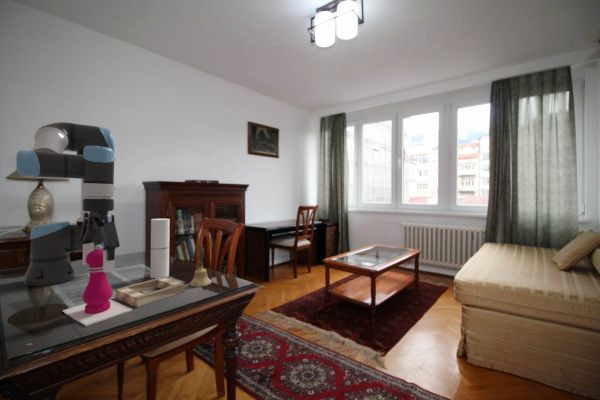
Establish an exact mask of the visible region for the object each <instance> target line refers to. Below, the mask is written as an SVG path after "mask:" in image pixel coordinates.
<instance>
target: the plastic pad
mask: <svg viewBox="0 0 600 400" xmlns="http://www.w3.org/2000/svg"><path fill="white" fill-rule="evenodd" d="M108 301H110V308H109V309H108V310H106V311H104V312H101V313H96V314H87V313H85V306H86V305H87V304H86V303H84V304H80V305H77V306H73V307H70V308H65V309H63V310H62V313H63V312H64V314H65V315H67V316H68V315H69V317H70V318H71V317H72V318H71V319H73V320H74V321H76V322H78V323H79V324H81V325H83V326H84V327H89V326H92V325H95V324H98V323H101V322H103V321H106V320H109V319H112V318H116V317H118V316H121V315H124V314H126V313H127V314H128V313H131V312H132V311H133V308H132V307H129V306H126V305H124V304H122V303H120V302H118V301H116V300H113V299H111V298H110V299H109V300H108Z"/></svg>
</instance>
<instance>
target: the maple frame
mask: <svg viewBox="0 0 600 400" xmlns="http://www.w3.org/2000/svg"><path fill="white" fill-rule="evenodd" d="M156 288H159V289H158V290H155V291H152V292H151V291H150V290H153V289H156ZM146 291H150V292H148V293H142V292H146ZM185 291H186V283H184V282H181V281H177V280H173V279H170V278H167V277H165V278H164V277H161V278H157V279H153V278H152V279H150V280H145V281H143V282H139V283H134V284H131V285H127V286H122V287H120V288H119V287H118V288H116V289H115V299H117V300H119V301H121V302H123V303H126V304H128V305H131V306H132V307H135V308H141V307H144V306H146V305H149V304H152V303H156V302H158V301H161V300H165V299H167V298H171V297H173V296H176V295H179V294H182V293H185Z"/></svg>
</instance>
